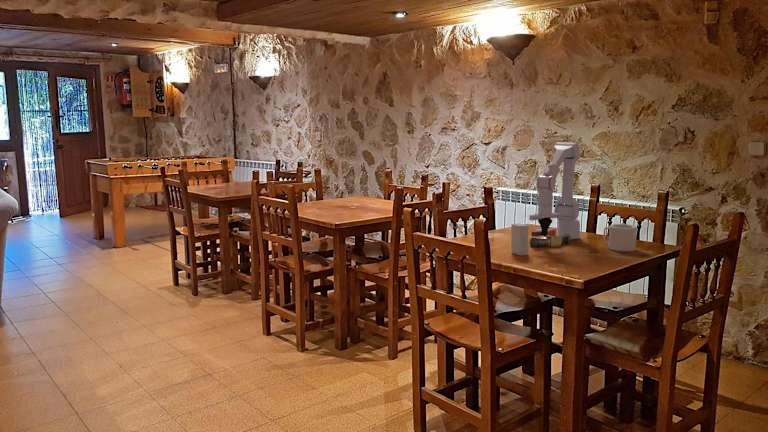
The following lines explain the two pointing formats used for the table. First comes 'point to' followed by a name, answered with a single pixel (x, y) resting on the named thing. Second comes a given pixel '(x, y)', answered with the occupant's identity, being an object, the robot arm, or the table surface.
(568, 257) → the table surface
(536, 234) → the lever
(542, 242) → the pipe
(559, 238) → the valve body
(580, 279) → the table surface
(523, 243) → the skincare box
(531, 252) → the table surface
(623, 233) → the mug
